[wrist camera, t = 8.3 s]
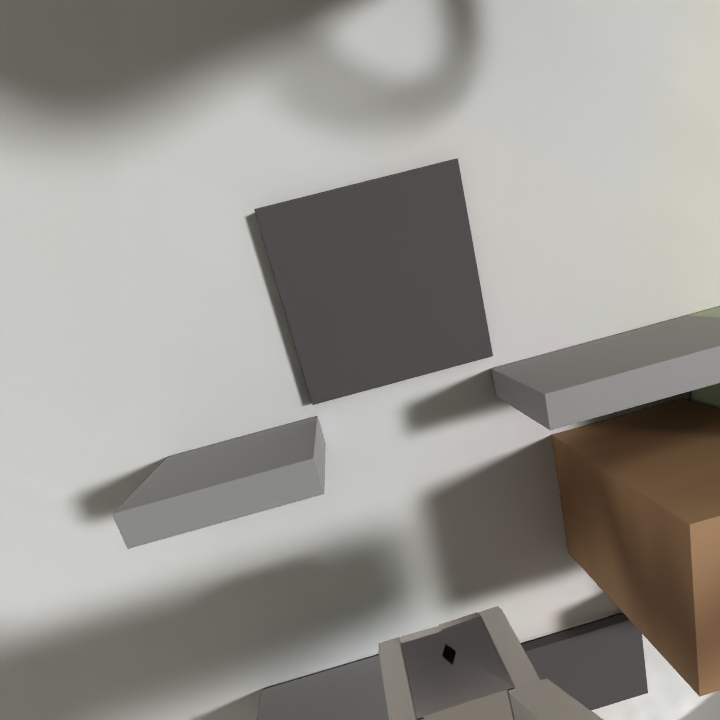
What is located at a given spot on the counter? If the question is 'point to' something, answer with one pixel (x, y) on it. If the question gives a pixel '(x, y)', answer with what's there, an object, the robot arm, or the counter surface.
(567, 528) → the walnut block
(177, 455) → the rail lane
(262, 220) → the mats
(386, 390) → the counter surface
